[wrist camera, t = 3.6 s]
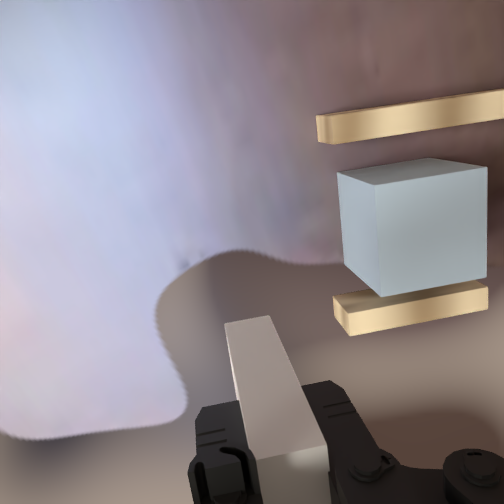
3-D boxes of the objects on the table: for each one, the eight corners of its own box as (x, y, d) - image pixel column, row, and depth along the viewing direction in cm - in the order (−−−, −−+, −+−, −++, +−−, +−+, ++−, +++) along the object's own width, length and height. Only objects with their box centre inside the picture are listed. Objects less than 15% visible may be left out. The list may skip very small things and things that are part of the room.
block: (344, 263, 31) (381, 297, 25) (336, 172, 29) (374, 185, 24) (431, 248, 32) (486, 277, 26) (428, 157, 30) (487, 166, 24)
